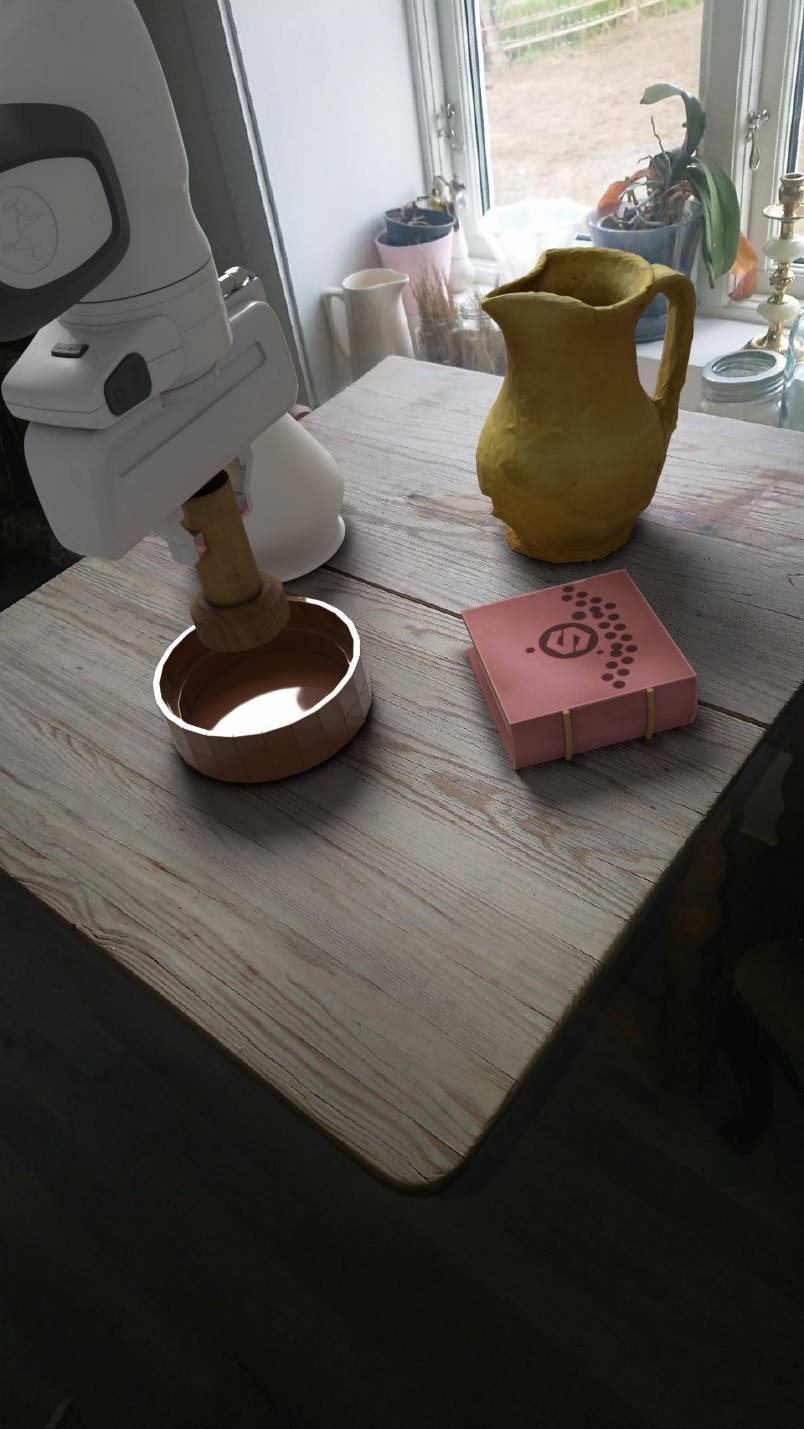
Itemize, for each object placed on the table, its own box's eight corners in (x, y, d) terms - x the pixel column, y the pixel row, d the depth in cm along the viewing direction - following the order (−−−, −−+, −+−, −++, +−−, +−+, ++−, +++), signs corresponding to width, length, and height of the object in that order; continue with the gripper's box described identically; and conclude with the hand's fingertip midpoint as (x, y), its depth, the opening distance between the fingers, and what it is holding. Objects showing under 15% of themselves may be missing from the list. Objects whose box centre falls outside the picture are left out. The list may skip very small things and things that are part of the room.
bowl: (303, 814, 75) (285, 760, 71) (135, 757, 82) (110, 706, 78) (408, 671, 85) (397, 617, 81) (249, 632, 92) (232, 581, 88)
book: (518, 778, 74) (513, 732, 71) (467, 655, 85) (460, 610, 82) (698, 730, 75) (701, 682, 71) (624, 614, 86) (624, 568, 82)
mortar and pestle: (231, 587, 71) (152, 347, 59) (307, 601, 69) (241, 353, 56) (180, 644, 67) (84, 399, 55) (259, 661, 64) (176, 408, 52)
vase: (186, 606, 97) (94, 364, 80) (197, 513, 110) (119, 288, 92) (358, 575, 96) (303, 325, 79) (349, 485, 109) (299, 253, 92)
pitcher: (498, 475, 105) (488, 233, 87) (677, 485, 100) (706, 231, 82) (462, 575, 94) (442, 321, 76) (662, 592, 89) (691, 325, 71)
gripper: (211, 253, 61) (263, 452, 70) (-25, 403, 49) (76, 621, 58) (295, 256, 58) (337, 463, 68) (67, 416, 46) (157, 641, 56)
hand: (215, 537), depth 63 cm, fingers closed on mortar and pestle, 4 cm apart
